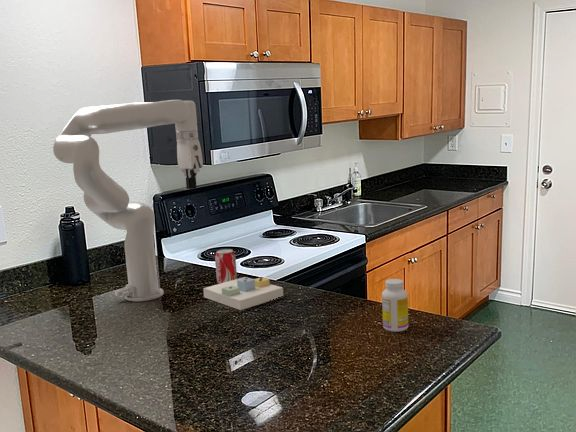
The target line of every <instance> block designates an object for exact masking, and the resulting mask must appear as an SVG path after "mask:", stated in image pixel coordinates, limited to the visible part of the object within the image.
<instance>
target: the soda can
mask: <svg viewBox="0 0 576 432" xmlns="http://www.w3.org/2000/svg"><path fill="white" fill-rule="evenodd" d="M214 258H215V259H214V261H215V262H214V263H215V265H214V266H215V272H216V273H215V275H216V283H217V284H221V283H224V282H228V281H232V280H235V279H238V276H237V275H238V274H237V273H238V271H237V261H236V260H237V259H236V254H235V253H234V250H233V249H231V248H224V249H223V248H221V249H219V250H216V254H215V255H214Z"/></svg>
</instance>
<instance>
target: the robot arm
mask: <svg viewBox="0 0 576 432" xmlns="http://www.w3.org/2000/svg"><path fill="white" fill-rule="evenodd" d="M172 124H174V125H175V127H174V128H175V135H176V137H175V138H176V156H177V157H176V158H177V160H176V161H177V166H178V168H179V169H180V171H181V172H183V174H184V178H185V185H186V189H187V190H192V189H193V190H194V189H197V187H198V185H197V174H198V173H200V172H201V170H200V169H202V168H203V167H204V161H203V153H202V152H203V151H202V148H201V147H202V146H201V143H200V140H199V133H198V118H197V107H196V103H195V102H194V101H193V100H182V99H168V100H161V101H150V102H141V101H137V102H126V103H125V102H124V103H117V104H106V105H99V106H98V105H96V106H87V107H82V108H80V109H79V110H77V111H76V112H75V113H74V114H73V116H72V117H71V119H70V120H69V121H68V123H67V124H66V125H65V126H64V128H63V129H62V131H60V134H59V135H58V136H57V137H56V138H55V140H54V143H53V146H52V148H53V149H52V152H53V155H54V156H55V158H56V159H57V160H58V161H60V162H61V163H65V164H73V166H72V169H73V176H74V182H75V183H76V185H77V186H78V187H79V188H80V189H81V191H83V202H84V204H85V206H86V207H87V208H88V210H90V212H92V213H93V214H95V215H96V216H97V218H100V219H101V220H102V221H104V222H105V223H106V224H108V225H109V226H111V227H112V228H114V229H116V230H122V231H126V235H125V238H124V255H125V264H126V265H125V267H126V274H127V281H128V282H127V283H128V284H125V287H123V288H122V289H117V290H114V295H115V296H116V297H119V296H122V297H124V299H125V300H126V301H129V302H146V301H147V302H148V301H152V300H156V299H158V298H161V297H162V296H163V295H164V294H165V293H164V289H163V288H161V287H159V280H158V279H159V278H158V272H157V259H156V250H155V248H156V247H155V239H154V237H155V236H154V230H155V219H156V218H155V213H154V211H153V209H152V207H150V206H149V205H148V204H146V203H144V202H137V201H136V202H135V201H130V196H129V194H128V192H127V190H126V189H124V188H123V186H121V185H120V184H119V183H118V182H116V181H115V180H114V179H113V178H112V177H110V176H109V175H108V174H107V173H106V172H105V171H104V170H103V169H102V168H101V164H100V146H99V143H98V142H97V141H96V139H94V138H93V137H92V135H104V134H112V133H118V132H119V133H120V132H126V131H133V130H142V129H148V128H152V127H158V126H164V125H172Z"/></svg>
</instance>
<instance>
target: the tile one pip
mask: <svg viewBox="0 0 576 432" xmlns="http://www.w3.org/2000/svg"><path fill="white" fill-rule="evenodd" d="M222 294H223V295H226V296H229V297H230V296H234V295H237V294H240V288H239V287H236V286H228V287H225V288H222Z"/></svg>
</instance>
